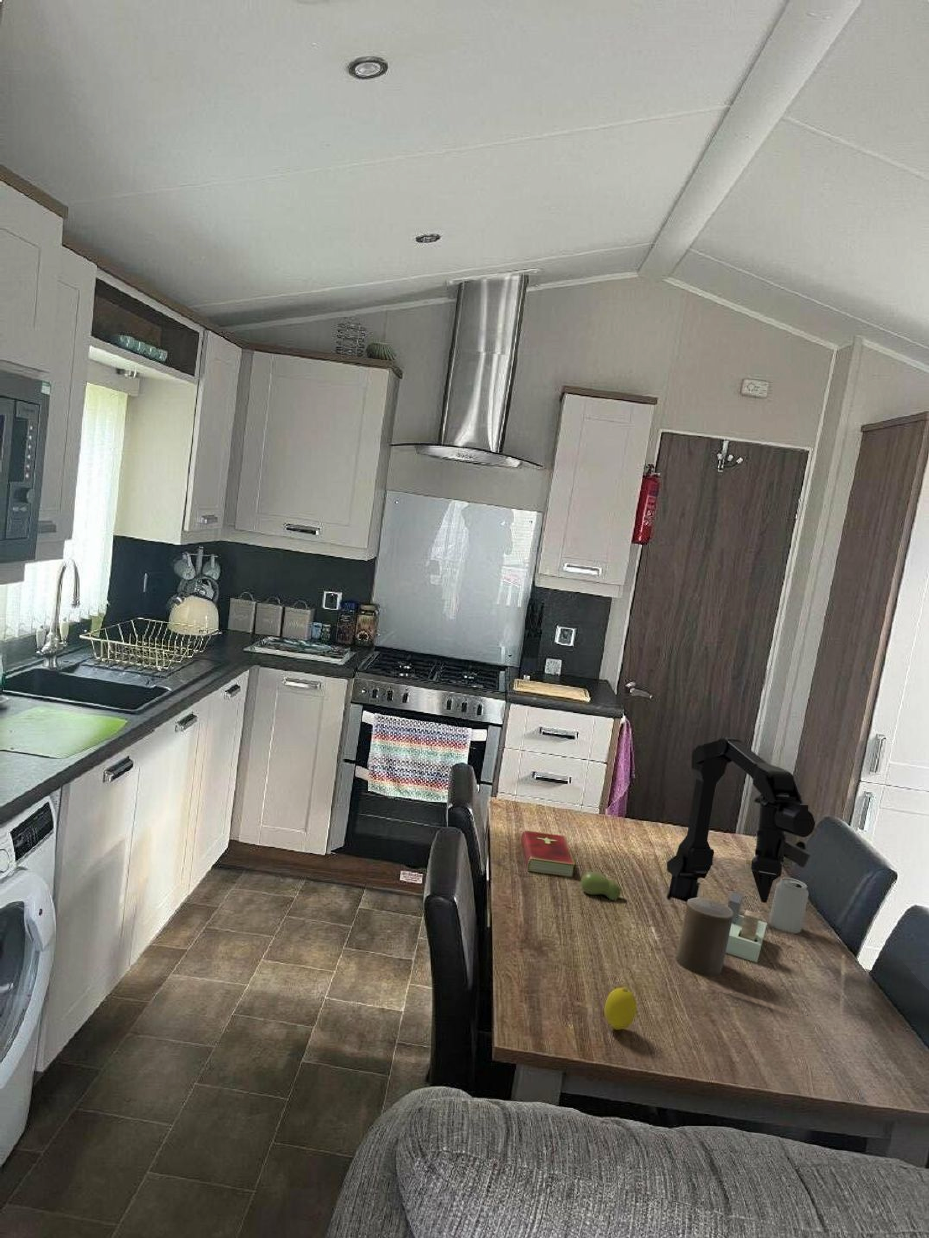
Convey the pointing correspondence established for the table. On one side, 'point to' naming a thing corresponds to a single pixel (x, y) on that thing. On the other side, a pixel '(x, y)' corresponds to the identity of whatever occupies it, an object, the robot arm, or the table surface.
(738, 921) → the green slotted base
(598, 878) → the pear
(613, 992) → the lemon
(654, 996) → the table surface
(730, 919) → the pillar candle
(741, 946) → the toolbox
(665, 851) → the table surface
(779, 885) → the can
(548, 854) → the hardcover book
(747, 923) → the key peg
